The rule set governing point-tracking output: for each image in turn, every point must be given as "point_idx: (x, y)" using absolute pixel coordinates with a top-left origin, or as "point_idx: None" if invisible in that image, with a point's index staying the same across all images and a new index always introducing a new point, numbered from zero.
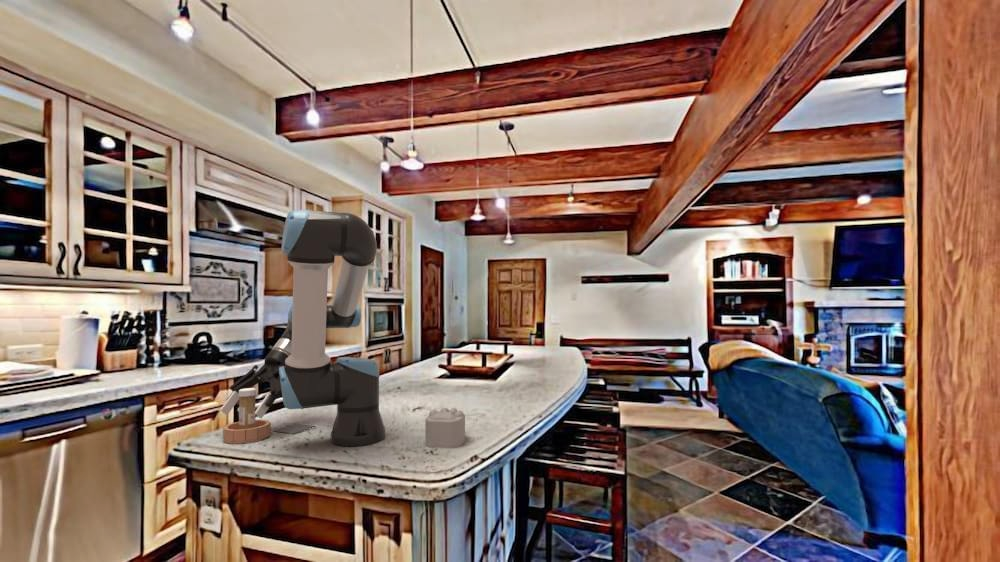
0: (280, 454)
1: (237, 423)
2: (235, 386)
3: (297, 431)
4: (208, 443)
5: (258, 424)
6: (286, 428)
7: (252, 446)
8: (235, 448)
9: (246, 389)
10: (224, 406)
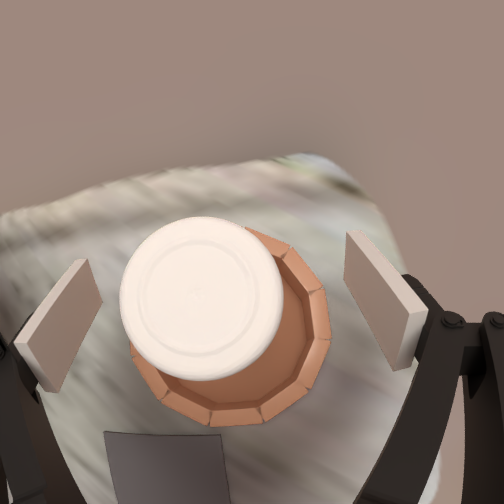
0: (9, 250)
1: (313, 330)
2: (484, 347)
3: (113, 454)
4: (301, 221)
5: (255, 404)
6: (193, 478)
7: (118, 265)
8: (153, 227)
9: (183, 273)
10: (354, 242)
